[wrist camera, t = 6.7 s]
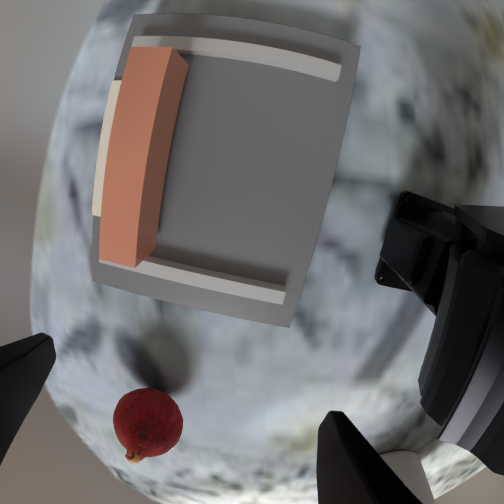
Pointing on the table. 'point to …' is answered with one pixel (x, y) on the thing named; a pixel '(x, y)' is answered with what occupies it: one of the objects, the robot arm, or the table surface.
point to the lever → (139, 153)
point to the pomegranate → (147, 423)
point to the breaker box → (238, 163)
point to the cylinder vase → (410, 473)
